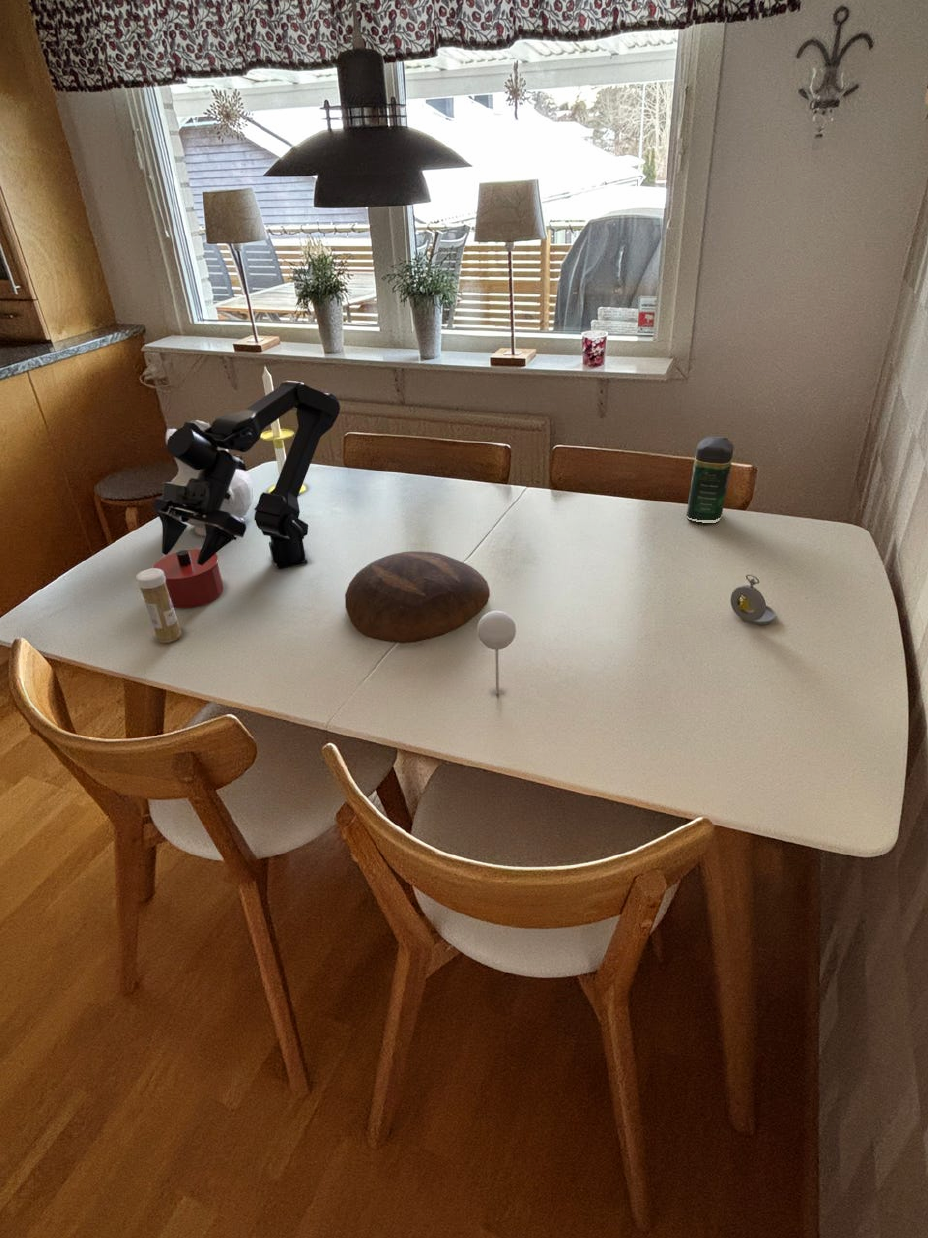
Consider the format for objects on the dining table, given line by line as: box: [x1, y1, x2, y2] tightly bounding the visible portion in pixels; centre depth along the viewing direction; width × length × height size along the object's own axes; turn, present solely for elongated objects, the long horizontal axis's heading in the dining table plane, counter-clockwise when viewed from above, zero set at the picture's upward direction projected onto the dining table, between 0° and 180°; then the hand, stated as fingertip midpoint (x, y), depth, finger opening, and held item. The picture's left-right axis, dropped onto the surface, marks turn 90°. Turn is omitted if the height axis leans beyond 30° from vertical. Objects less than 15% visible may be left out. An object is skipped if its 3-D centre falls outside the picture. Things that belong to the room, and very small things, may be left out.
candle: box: [260, 366, 307, 495], centre depth 183 cm, size 10×10×32 cm
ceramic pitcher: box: [165, 419, 254, 537], centre depth 167 cm, size 22×20×25 cm
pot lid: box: [152, 548, 220, 581], centre depth 143 cm, size 13×13×4 cm
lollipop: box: [476, 610, 517, 695], centre depth 112 cm, size 6×6×15 cm
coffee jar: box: [686, 435, 734, 526], centre depth 163 cm, size 10×8×19 cm
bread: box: [344, 550, 491, 644], centre depth 137 cm, size 28×27×9 cm
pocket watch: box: [729, 574, 777, 625], centre depth 129 cm, size 8×8×10 cm
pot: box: [166, 563, 224, 609], centre depth 145 cm, size 12×12×6 cm
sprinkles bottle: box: [136, 567, 182, 644], centre depth 130 cm, size 5×5×14 cm
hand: (181, 559), depth 131 cm, fingers open, 9 cm apart
